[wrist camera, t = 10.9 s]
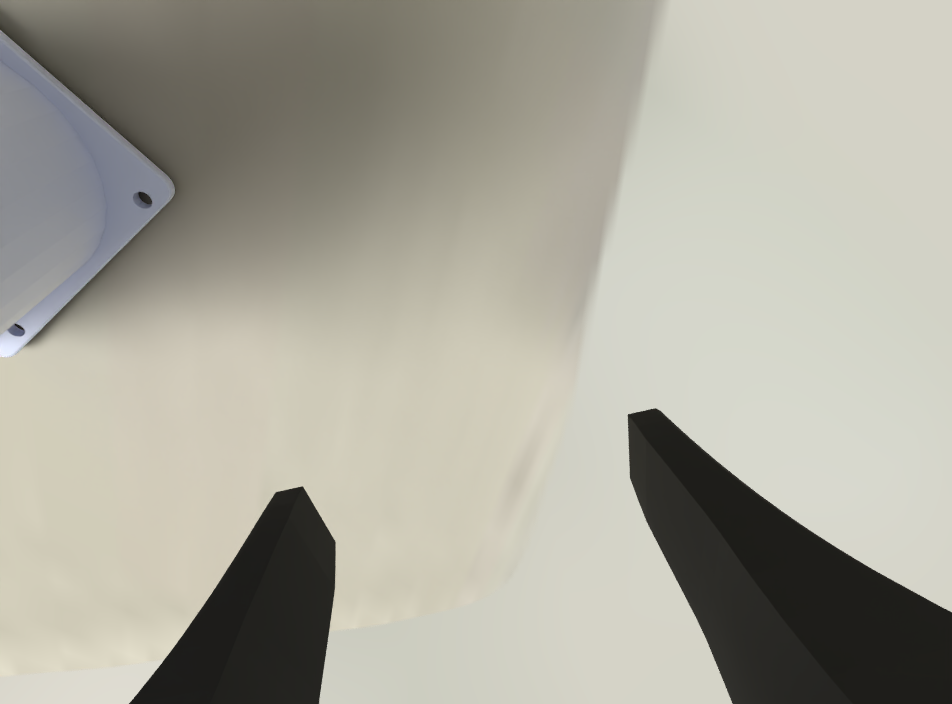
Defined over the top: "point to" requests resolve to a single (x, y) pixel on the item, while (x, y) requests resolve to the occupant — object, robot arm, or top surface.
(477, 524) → the top surface
